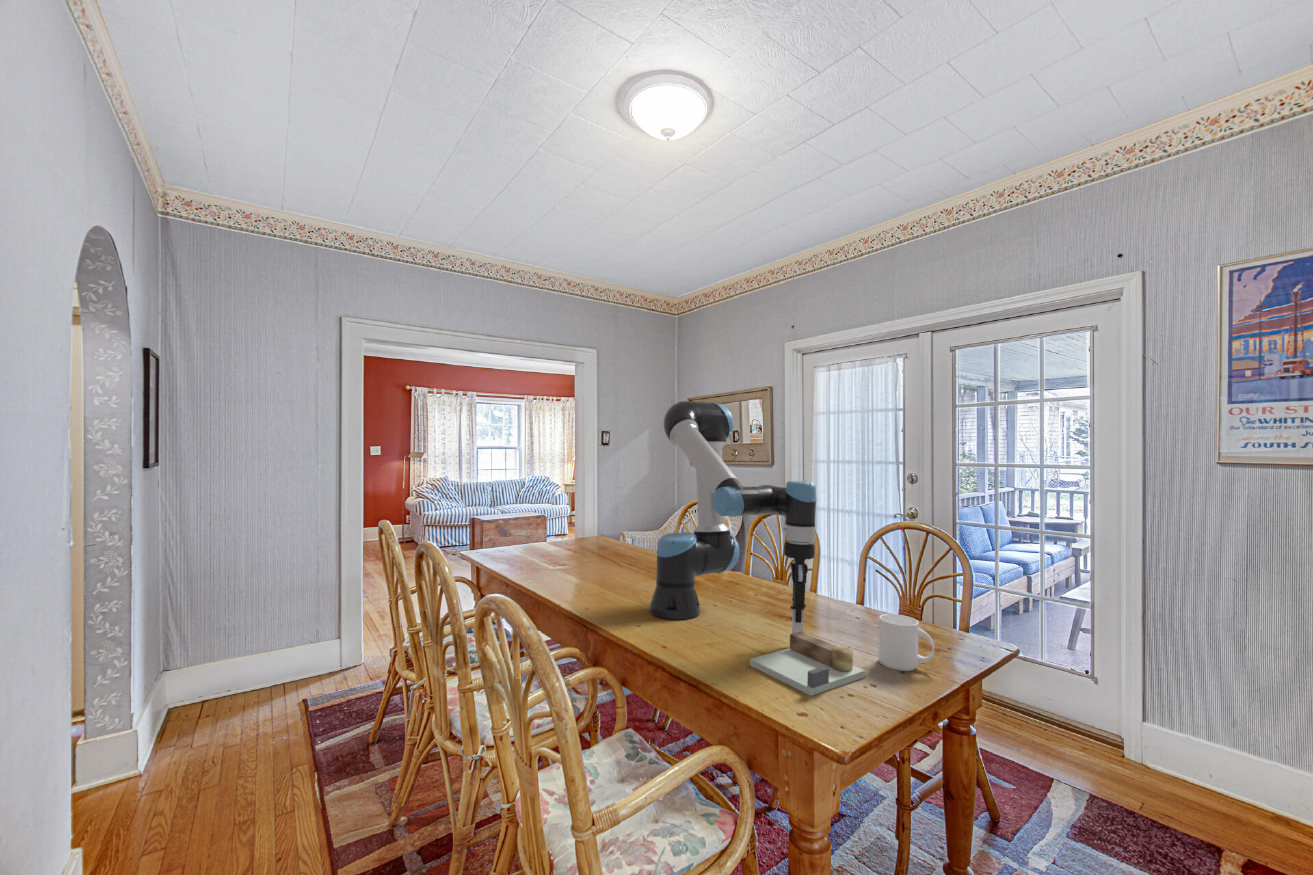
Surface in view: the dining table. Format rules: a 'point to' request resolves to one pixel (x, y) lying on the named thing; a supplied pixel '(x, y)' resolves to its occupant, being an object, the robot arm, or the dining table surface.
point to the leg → (822, 651)
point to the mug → (900, 642)
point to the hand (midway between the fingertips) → (797, 633)
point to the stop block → (818, 677)
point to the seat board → (802, 670)
